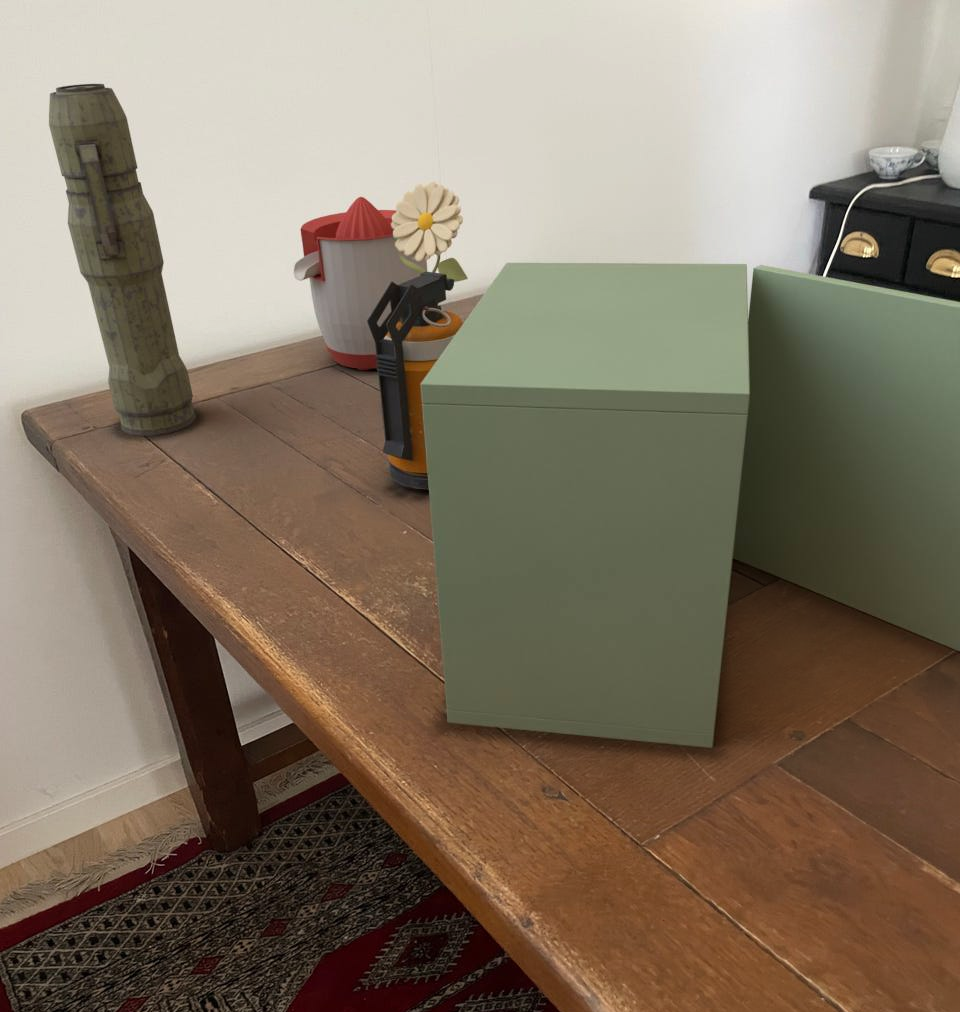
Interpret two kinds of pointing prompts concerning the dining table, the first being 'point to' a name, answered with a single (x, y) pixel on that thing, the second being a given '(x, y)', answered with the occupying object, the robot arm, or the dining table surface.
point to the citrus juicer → (351, 277)
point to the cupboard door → (855, 447)
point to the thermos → (120, 259)
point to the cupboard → (589, 497)
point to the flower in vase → (428, 227)
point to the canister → (410, 366)
